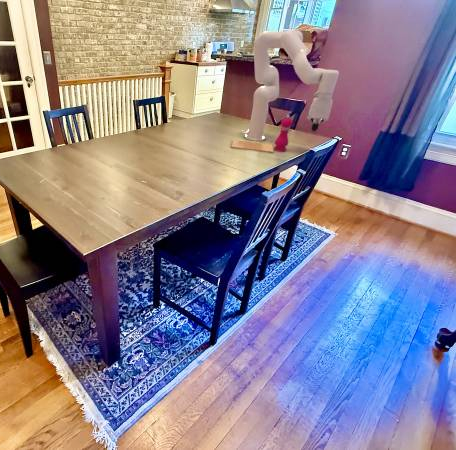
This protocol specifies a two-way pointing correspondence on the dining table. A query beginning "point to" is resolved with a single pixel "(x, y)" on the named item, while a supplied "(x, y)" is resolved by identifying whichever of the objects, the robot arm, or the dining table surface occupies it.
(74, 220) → the dining table surface
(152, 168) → the dining table surface
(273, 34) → the robot arm
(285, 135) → the pepper mill
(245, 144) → the cork mat
